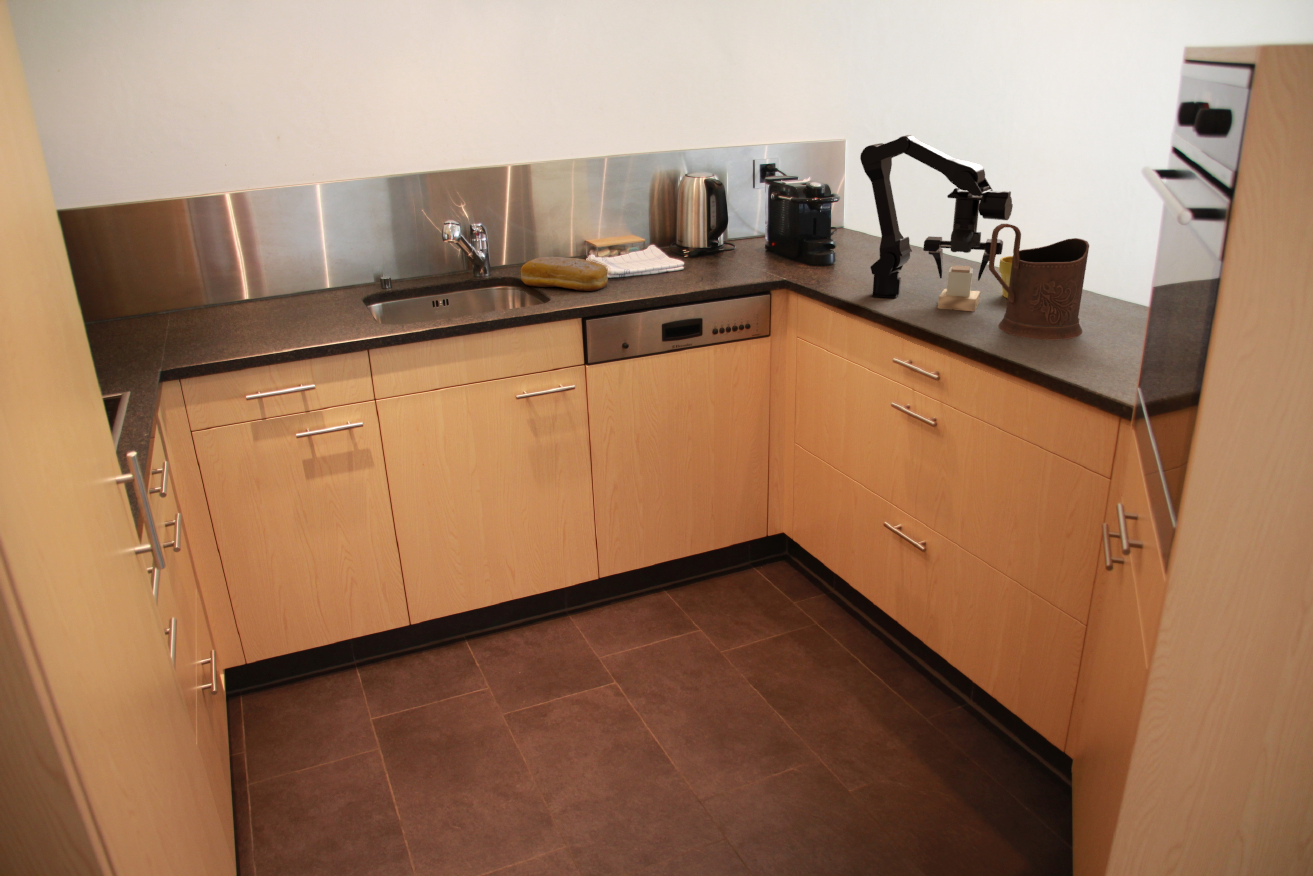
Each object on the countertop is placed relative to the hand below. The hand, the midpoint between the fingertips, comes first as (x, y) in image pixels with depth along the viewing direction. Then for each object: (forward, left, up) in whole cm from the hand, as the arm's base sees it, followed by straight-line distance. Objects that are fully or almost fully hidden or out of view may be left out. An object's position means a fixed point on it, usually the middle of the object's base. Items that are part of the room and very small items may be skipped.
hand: (959, 279), depth 237 cm
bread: (-109, -9, -7) cm, 109 cm away
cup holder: (+18, -18, -7) cm, 26 cm away
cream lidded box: (0, 0, -4) cm, 4 cm away
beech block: (0, 0, -7) cm, 7 cm away
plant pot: (+14, +13, -7) cm, 20 cm away
